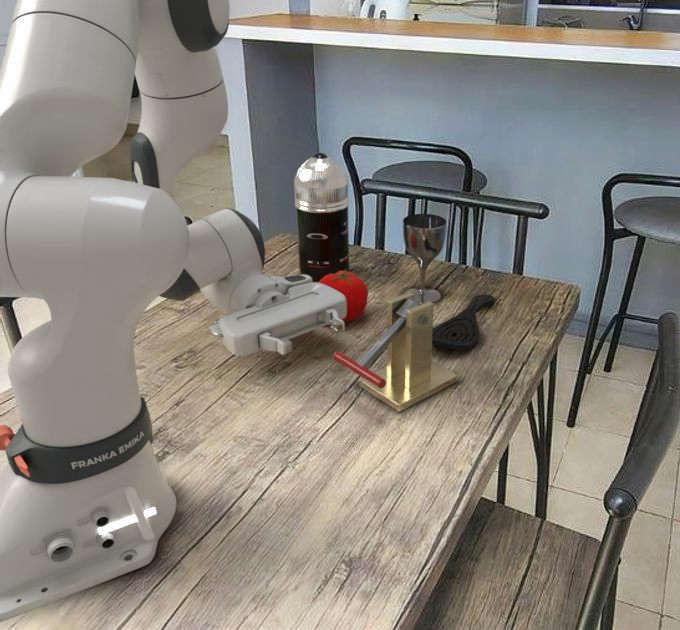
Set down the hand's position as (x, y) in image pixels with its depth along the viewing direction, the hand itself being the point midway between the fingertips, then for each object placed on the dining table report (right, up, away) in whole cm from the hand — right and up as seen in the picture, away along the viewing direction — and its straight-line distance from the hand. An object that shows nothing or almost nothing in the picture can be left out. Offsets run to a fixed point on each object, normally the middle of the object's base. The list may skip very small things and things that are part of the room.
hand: (315, 338), depth 99 cm
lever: (+11, -1, -3) cm, 11 cm away
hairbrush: (+23, +1, +20) cm, 31 cm away
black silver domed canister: (-4, +11, +38) cm, 39 cm away
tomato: (+1, +3, +22) cm, 23 cm away
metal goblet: (+16, +7, +31) cm, 36 cm away
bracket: (+14, -7, +3) cm, 16 cm away
